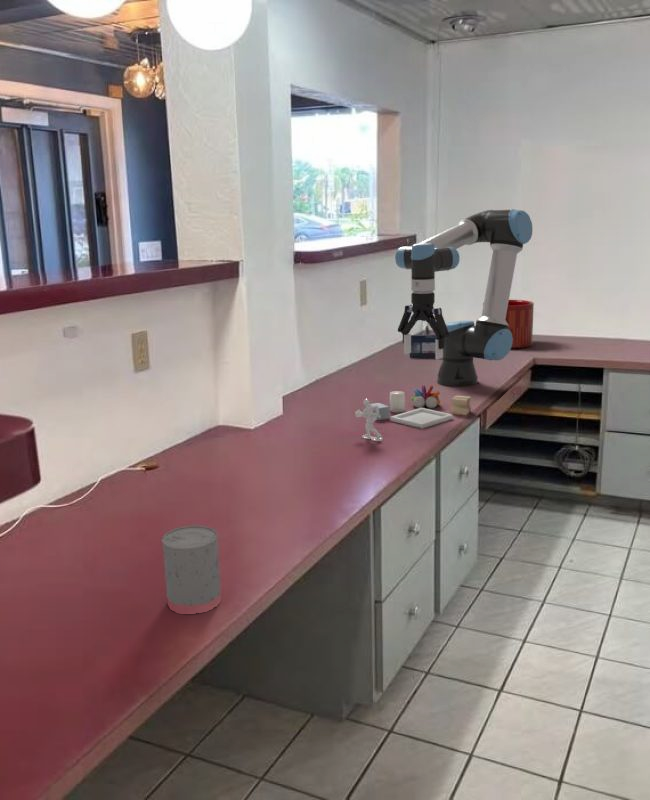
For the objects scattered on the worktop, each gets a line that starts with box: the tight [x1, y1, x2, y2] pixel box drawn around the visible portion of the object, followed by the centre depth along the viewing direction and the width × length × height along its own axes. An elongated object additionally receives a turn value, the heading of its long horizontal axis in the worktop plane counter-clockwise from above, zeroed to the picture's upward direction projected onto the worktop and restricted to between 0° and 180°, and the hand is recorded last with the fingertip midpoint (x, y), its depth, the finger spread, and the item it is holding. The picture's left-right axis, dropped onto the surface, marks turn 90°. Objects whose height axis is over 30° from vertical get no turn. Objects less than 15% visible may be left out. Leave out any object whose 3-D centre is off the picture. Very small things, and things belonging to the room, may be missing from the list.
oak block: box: [450, 395, 472, 416], centre depth 255 cm, size 5×5×5 cm
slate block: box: [369, 402, 390, 421], centre depth 253 cm, size 4×6×4 cm, turn 28°
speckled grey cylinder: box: [161, 525, 222, 606], centre depth 137 cm, size 10×10×12 cm
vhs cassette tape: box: [409, 334, 437, 359], centre depth 345 cm, size 18×3×10 cm, turn 83°
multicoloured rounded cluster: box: [411, 384, 441, 409], centre depth 264 cm, size 8×10×7 cm
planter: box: [482, 299, 535, 350], centre depth 367 cm, size 23×23×20 cm
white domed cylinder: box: [389, 390, 406, 414], centre depth 259 cm, size 5×5×6 cm
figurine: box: [354, 398, 384, 442], centre depth 229 cm, size 5×9×12 cm, turn 58°
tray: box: [389, 407, 454, 430], centre depth 248 cm, size 15×13×1 cm
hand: (422, 356), depth 260 cm, fingers open, 13 cm apart
